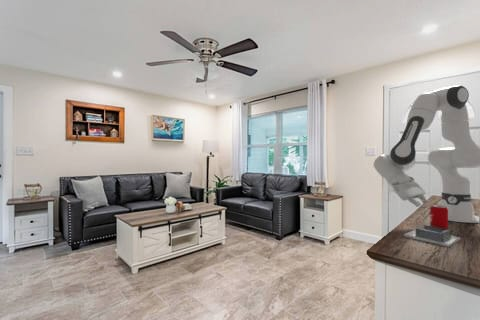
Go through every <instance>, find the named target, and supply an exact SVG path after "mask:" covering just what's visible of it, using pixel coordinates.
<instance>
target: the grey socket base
mask: <svg viewBox="0 0 480 320" xmlns="http://www.w3.org/2000/svg"><path fill="white" fill-rule="evenodd" d="M403 236H404V237H405V238H409V239H414V240H418V241H422V242H427V243H431V244H435V245H438V246H443V247H448V248H450V247H452V246H453V245H454V244H456V243H458V242H460V240H461V237H460V236H455V235H452V229H450V228H448V229H446V228H441V227H435V226H430V224H423V228H421V227H419V228H418V227H415V229H413V230H411V231H409V232H406V233H404V234H403Z"/></svg>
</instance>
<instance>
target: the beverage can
mask: <svg viewBox="0 0 480 320" xmlns="http://www.w3.org/2000/svg"><path fill="white" fill-rule="evenodd" d="M429 218H430V219H429V225H430V226H435V227H441V228H446V229H449V220H448V209H447V207H446V206H443V205H438V204H431V206H430V209H429Z"/></svg>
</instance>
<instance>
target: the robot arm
mask: <svg viewBox="0 0 480 320" xmlns="http://www.w3.org/2000/svg"><path fill="white" fill-rule="evenodd" d="M469 93H470V92H469V90H468V89H467V88H466V87H465V86H463V85H452V86H448V87H442V88H439V89H437V90H433V91H430V92H424V93H421V94H419V95H418V96H417V97H416V99H415V100H414V102H413V104H412V105H411V107H410V110H409V113H408V116H407V118H406V119H407V120H406V125H405V128H404V130H403V133H402V135H401V138H400V140H399V141H398V142H397V143H396V144H395V145H394V146H393V147H392V149H391V150H390V153H389V154H381V155H379V156H377V158H375V160H374V162H373V168H374V169H375V171H376V173H378V174H379V175H380V177H382V178H383V179H384V180H386V183H387V184H388V185H390V187H391V188H392V189H393V192H394V193H395V194H396V195H397V196H398V197H399V198H400V199H401V200H402V201H408V202H409V203H410V204H413V205H414V206H415V207H416V208H418V207H421V206H422V204H423V205H424V206H426V205H428V204H430V201H428V200H427V198H426V196H425V195H426V191H425V190H424V189H423V188H422V186H421V185H420V184H419V183H417V181H415V178H413V177H412V176H410V175H408V174H406V173H405V172H406V171H408V170H410V169H411V168H413V167H414V166H415V165H416V154H417V153H416V147H415V146H416V143H417V141H418V138H419V136H420V134H421V131H425V130H427V129H428V128H429V127H430V126H431V124H432V123H433V121H434V118H435V117H436V113H437V112H438V111H441V117H440V118H441V119H440V121H441V124H440V125H441V137H442V138H443V139H445V141H448V142H451V143H452V144H453V146H454V147H440V148H435V149H432V150H431V151H429V154H428V156H427V160H428V163H429V164H430V165H431V166H432V167H434V168H435V169H436V170H437V172H438V173H439V174H440V176H441V183H442V184H441V185H442V192H441V196H440V197H441V200H440V201H439V202H437V205H443V206H446V207H447V209H448V222H449V221H450V222H456V223H469V224H470V223H473V224H480V216H478V215H477V214H476V212H475V211H474V205H473V204H472V202H471V201H472V195H471V192H470V191H471V189H470V187H471V184H470V183H471V182H470V179H469V178H468V177H466V176H465V175H463V174H461V173H460V172H459V171H458V169H477V168H480V146H479V145H478V144H476V142H475V141H474V139H473V138H472V136H471V133H470V132H471V131H470V123H469V121H470V120H469V113H468V108H467V105H466V104H467V102H468V100H469V96H470V94H469ZM416 199H419V200H421V203H422V204H421V203H420V201H418V200H416Z"/></svg>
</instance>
